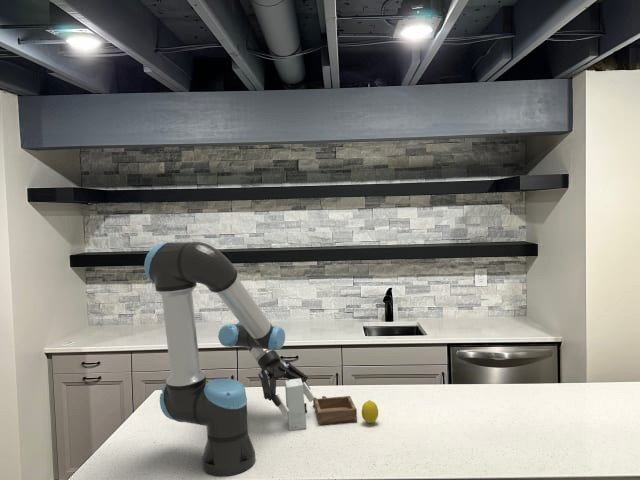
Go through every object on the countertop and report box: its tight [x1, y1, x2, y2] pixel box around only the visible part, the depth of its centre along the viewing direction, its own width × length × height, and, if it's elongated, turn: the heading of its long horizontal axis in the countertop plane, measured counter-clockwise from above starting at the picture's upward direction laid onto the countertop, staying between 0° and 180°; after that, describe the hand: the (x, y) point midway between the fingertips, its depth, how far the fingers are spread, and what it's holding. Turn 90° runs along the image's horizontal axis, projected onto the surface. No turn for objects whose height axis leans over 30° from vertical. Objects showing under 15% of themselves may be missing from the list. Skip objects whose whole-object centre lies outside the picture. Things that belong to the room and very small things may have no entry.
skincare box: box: [284, 378, 307, 431], centre depth 168 cm, size 8×6×15 cm
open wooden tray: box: [314, 395, 358, 427], centre depth 173 cm, size 13×13×4 cm
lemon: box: [361, 399, 379, 425], centre depth 166 cm, size 6×6×8 cm
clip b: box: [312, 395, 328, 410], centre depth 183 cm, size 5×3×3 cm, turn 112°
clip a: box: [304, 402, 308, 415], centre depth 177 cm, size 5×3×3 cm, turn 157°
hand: (300, 406), depth 167 cm, fingers open, 13 cm apart
